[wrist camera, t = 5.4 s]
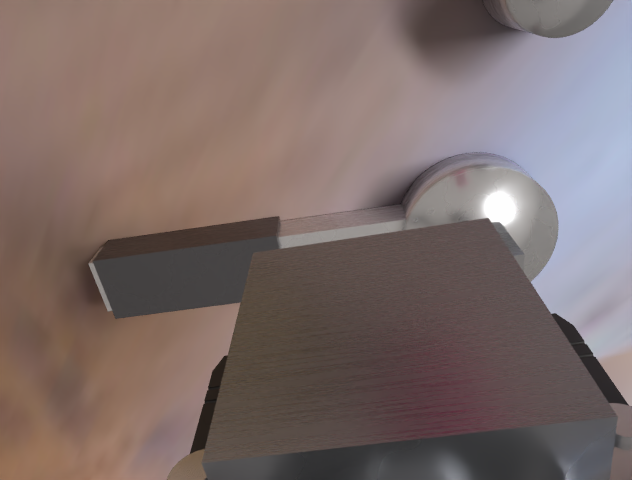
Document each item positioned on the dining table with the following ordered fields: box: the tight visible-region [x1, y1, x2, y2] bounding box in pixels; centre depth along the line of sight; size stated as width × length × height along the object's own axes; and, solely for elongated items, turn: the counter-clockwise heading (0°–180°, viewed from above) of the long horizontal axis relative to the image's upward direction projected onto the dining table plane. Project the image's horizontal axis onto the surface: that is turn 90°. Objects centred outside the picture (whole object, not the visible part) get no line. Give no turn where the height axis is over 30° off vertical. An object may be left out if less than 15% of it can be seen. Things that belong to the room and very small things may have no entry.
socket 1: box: [201, 218, 618, 480], centre depth 11 cm, size 6×6×7 cm
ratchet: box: [88, 152, 558, 319], centre depth 27 cm, size 25×8×6 cm, turn 99°
